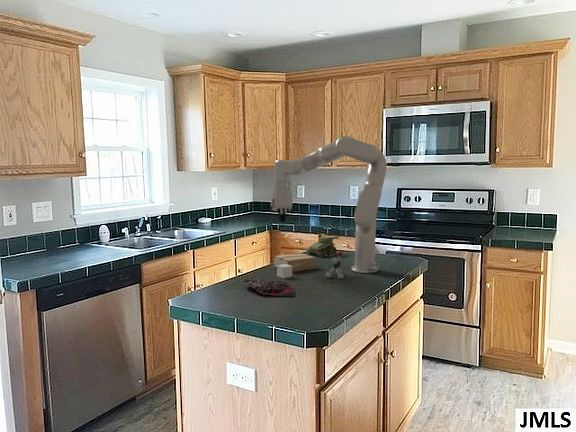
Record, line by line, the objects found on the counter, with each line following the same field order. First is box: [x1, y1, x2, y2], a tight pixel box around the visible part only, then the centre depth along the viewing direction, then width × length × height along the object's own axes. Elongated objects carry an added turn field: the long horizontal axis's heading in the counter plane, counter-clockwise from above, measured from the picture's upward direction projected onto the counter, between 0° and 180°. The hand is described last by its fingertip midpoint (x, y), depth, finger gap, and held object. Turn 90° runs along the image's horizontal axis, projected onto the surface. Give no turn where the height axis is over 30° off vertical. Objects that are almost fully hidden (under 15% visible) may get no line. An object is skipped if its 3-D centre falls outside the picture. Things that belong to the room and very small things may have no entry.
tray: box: [273, 258, 288, 266], centre depth 238 cm, size 11×14×4 cm
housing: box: [273, 252, 317, 273], centre depth 239 cm, size 14×15×5 cm
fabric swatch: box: [243, 279, 296, 297], centre depth 199 cm, size 20×21×3 cm
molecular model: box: [325, 250, 345, 280], centre depth 223 cm, size 8×12×11 cm
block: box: [276, 264, 293, 279], centre depth 221 cm, size 5×5×5 cm
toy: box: [307, 235, 340, 258], centre depth 271 cm, size 10×18×10 cm, turn 128°
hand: (282, 221), depth 241 cm, fingers closed
